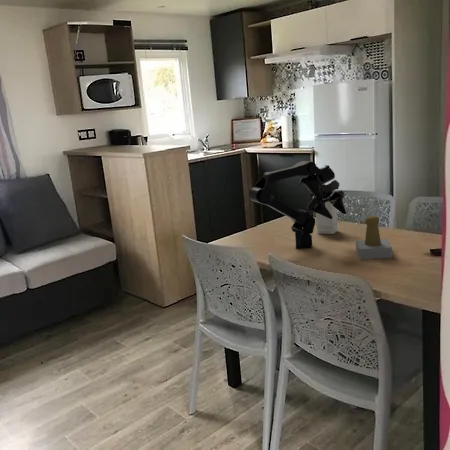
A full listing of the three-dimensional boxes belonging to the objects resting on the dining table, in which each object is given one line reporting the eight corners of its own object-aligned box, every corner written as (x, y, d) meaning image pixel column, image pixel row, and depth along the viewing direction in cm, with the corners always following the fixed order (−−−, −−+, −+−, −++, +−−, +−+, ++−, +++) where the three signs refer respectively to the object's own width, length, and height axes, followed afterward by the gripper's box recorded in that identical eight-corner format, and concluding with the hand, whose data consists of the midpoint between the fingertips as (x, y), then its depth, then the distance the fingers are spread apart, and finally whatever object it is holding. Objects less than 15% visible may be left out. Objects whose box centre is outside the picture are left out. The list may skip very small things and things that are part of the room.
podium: (359, 259, 188) (358, 249, 187) (356, 250, 200) (355, 240, 199) (392, 257, 186) (391, 247, 185) (386, 248, 198) (386, 238, 197)
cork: (371, 247, 188) (371, 219, 186) (361, 243, 194) (360, 216, 191) (384, 243, 191) (383, 216, 188) (373, 240, 196) (373, 213, 194)
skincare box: (338, 231, 231) (336, 198, 227) (333, 234, 225) (331, 201, 222) (321, 230, 235) (319, 198, 232) (316, 233, 230) (314, 201, 226)
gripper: (311, 178, 196) (335, 208, 190) (340, 171, 207) (363, 199, 202) (297, 196, 204) (320, 225, 198) (325, 188, 215) (348, 215, 209)
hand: (338, 216), depth 202 cm, fingers open, 9 cm apart
